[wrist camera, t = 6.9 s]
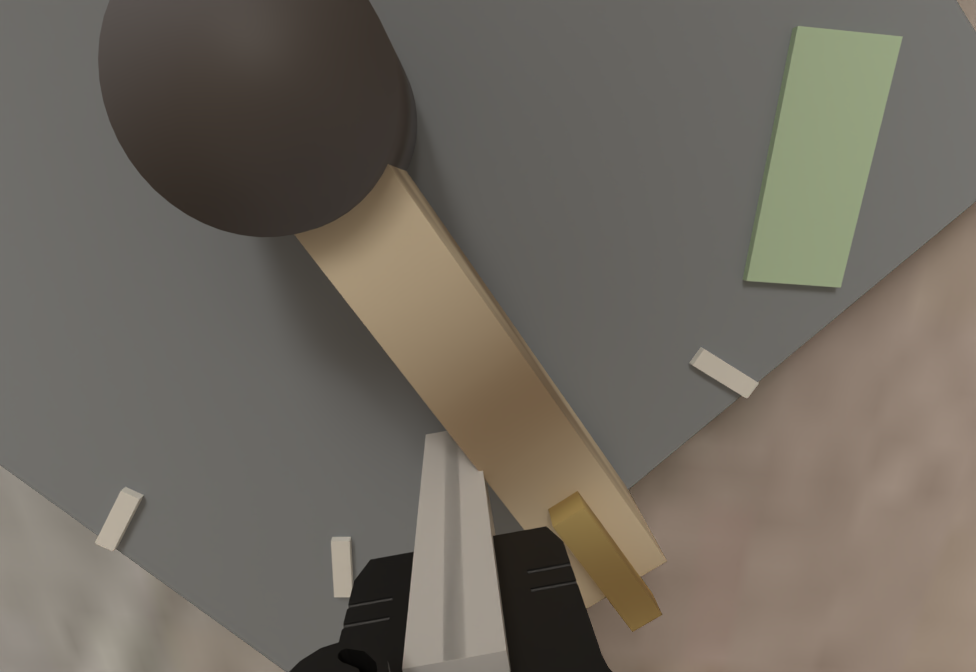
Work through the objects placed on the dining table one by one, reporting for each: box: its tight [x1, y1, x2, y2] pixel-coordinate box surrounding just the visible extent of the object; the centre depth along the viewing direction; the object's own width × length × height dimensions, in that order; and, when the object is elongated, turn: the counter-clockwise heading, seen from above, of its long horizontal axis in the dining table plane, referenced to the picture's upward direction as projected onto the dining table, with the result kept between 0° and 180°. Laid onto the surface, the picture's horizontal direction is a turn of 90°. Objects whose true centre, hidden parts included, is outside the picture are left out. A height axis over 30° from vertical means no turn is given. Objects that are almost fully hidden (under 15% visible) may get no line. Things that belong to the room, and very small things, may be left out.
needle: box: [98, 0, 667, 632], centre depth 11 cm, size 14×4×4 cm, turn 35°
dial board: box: [0, 0, 976, 672], centre depth 13 cm, size 24×24×2 cm
